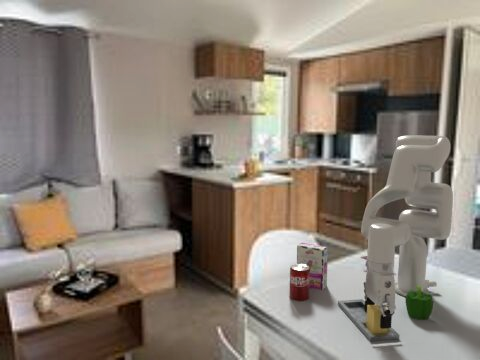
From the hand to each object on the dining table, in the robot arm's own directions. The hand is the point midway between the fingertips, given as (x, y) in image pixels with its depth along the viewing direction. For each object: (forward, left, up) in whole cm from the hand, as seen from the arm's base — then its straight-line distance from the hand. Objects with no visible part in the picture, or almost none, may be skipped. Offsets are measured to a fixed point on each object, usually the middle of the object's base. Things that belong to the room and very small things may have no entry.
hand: (377, 319), depth 119 cm
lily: (-26, -51, -5) cm, 57 cm away
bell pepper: (-19, -8, -5) cm, 21 cm away
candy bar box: (+8, -37, -5) cm, 38 cm away
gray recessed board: (0, -7, -4) cm, 8 cm away
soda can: (+16, -27, -5) cm, 32 cm away
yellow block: (0, 0, -4) cm, 4 cm away
